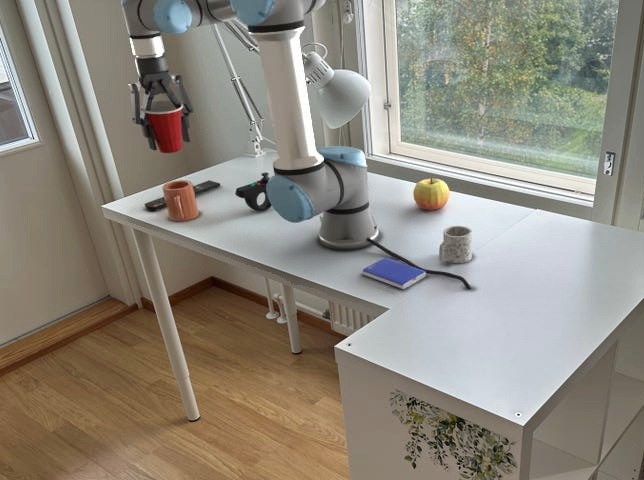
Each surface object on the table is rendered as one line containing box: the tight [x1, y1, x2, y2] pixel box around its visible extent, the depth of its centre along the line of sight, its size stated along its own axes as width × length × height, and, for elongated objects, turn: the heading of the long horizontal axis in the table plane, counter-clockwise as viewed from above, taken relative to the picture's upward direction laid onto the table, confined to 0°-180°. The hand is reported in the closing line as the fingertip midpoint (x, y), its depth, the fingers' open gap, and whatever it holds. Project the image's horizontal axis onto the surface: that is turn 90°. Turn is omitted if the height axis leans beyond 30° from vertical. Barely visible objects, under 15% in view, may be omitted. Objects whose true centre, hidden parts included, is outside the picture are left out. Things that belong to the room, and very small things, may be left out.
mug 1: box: [161, 179, 199, 222], centre depth 198 cm, size 11×8×9 cm
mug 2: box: [438, 225, 473, 264], centre depth 169 cm, size 10×7×7 cm, turn 140°
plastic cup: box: [140, 99, 184, 154], centre depth 189 cm, size 11×11×12 cm
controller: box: [234, 172, 272, 212], centre depth 200 cm, size 4×12×10 cm, turn 133°
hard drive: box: [362, 257, 427, 290], centre depth 164 cm, size 2×8×12 cm
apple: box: [413, 177, 450, 211], centre depth 197 cm, size 10×10×8 cm
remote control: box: [144, 180, 221, 212], centre depth 213 cm, size 5×24×1 cm, turn 142°
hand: (170, 145), depth 191 cm, fingers closed on plastic cup, 9 cm apart
